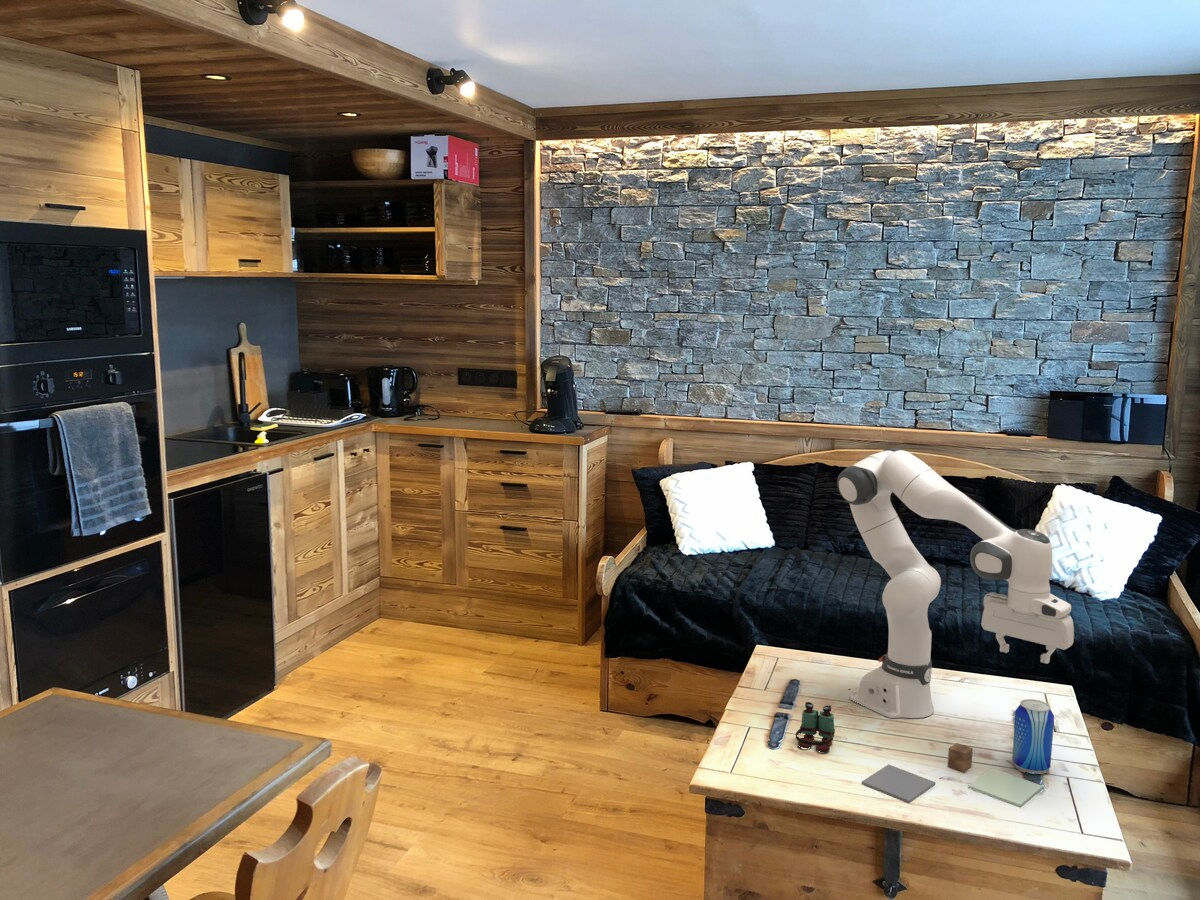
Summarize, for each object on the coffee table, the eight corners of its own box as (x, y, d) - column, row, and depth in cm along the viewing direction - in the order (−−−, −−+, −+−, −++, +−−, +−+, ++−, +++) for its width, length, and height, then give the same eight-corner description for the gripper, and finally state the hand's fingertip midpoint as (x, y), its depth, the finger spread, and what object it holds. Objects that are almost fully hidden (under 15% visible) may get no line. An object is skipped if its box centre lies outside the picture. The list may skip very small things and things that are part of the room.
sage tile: (968, 787, 223) (968, 785, 223) (991, 770, 231) (991, 767, 231) (1020, 807, 214) (1020, 804, 214) (1042, 788, 222) (1042, 786, 222)
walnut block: (947, 767, 233) (948, 747, 232) (955, 762, 235) (956, 742, 235) (963, 773, 230) (964, 753, 229) (971, 767, 232) (972, 748, 232)
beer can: (1054, 778, 227) (1058, 713, 225) (1015, 774, 229) (1020, 710, 226) (1045, 761, 235) (1049, 698, 233) (1008, 758, 237) (1012, 696, 234)
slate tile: (861, 783, 225) (861, 781, 225) (888, 766, 233) (888, 764, 233) (909, 803, 216) (909, 800, 216) (935, 784, 224) (935, 782, 224)
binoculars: (793, 716, 238) (802, 697, 247) (793, 754, 241) (802, 734, 250) (829, 722, 235) (838, 703, 243) (829, 761, 237) (837, 740, 246)
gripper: (978, 593, 230) (975, 648, 232) (1068, 613, 215) (1063, 672, 218) (990, 587, 234) (986, 642, 236) (1078, 607, 220) (1074, 665, 222)
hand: (1024, 657), depth 227 cm, fingers open, 8 cm apart
